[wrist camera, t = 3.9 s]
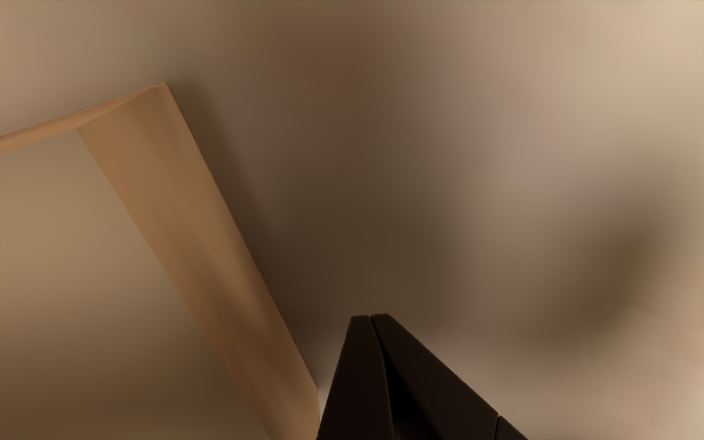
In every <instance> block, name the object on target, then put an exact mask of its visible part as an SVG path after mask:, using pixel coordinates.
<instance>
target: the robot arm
mask: <svg viewBox="0 0 704 440" xmlns="http://www.w3.org/2000/svg"><path fill="white" fill-rule="evenodd" d="M316 440H528V439H527V438H526V437H525V436H524V435H522V434H521V433H520V432H519V431H518V430H517V429H516V428H514V427H513V426H512V425H511V424H510V423H509V422H508V421H507V420H506V419H505V418H503V417H502V416H499V417H498V412H497V411H495V410H494V409H493V408H492V407H491V406H490V405H489V404H488V403H487V402H486V401H484V400H483V399H482V398H481V397H480V396H479V395H478V394H477V393H476V392H474V391H473V390H472V389H471V388H470V387H469V386H468V385H467V384H466V383H465V382H463V381H462V380H461V379H460V378H459V377H458V376H457V375H456V374H455V373H454V372H452V371H451V370H450V369H449V368H448V367H447V366H446V365H445V364H444V363H442V362H441V361H440V360H439V359H438V358H437V357H436V356H435V355H434V354H433V353H431V352H430V351H429V350H428V349H427V348H426V347H425V346H424V345H423V344H421V343H420V342H419V341H418V340H417V339H416V338H415V337H414V336H413V335H412V334H410V333H409V332H408V331H407V330H406V329H405V328H404V327H403V326H402V325H401V324H399V323H398V322H397V321H396V320H395V319H394V318H393V317H392V316H391V315H389V314H386V313H384V314H373V315H371V316H368V315H357V316H352V317H351V319H350V322H349V326H348V329H347V333H346V336H345V340H344V343H343V347H342V350H341V353H340V357H339V360H338V364H337V367H336V371H335V374H334V378H333V381H332V385H331V388H330V392H329V395H328V399H327V402H326V406H325V409H324V413H323V416H322V420H321V423H320V427H319V430H318V434H317V437H316Z"/></svg>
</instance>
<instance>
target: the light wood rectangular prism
mask: <svg viewBox="0 0 704 440" xmlns="http://www.w3.org/2000/svg"><path fill="white" fill-rule="evenodd" d="M319 427H320V415H319V402H318V390H317V387H316V385H315V383H314V381H313V379H312V377H311V375H310V373H309V371H308V369H307V367H306V365H305V363H304V361H303V359H302V357H301V355H300V353H299V351H298V349H297V347H296V345H295V343H294V341H293V339H292V337H291V335H290V332H289V330H288V328H287V326H286V324H285V322H284V320H283V318H282V316H281V314H280V312H279V310H278V308H277V306H276V304H275V302H274V300H273V298H272V296H271V294H270V292H269V290H268V288H267V286H266V284H265V282H264V280H263V278H262V276H261V274H260V272H259V270H258V268H257V266H256V264H255V262H254V260H253V258H252V256H251V254H250V252H249V249H248V247H247V245H246V243H245V241H244V239H243V237H242V235H241V233H240V231H239V229H238V227H237V225H236V223H235V221H234V219H233V217H232V215H231V213H230V211H229V209H228V207H227V205H226V203H225V201H224V199H223V197H222V195H221V193H220V191H219V189H218V187H217V185H216V183H215V181H214V179H213V177H212V175H211V173H210V171H209V169H208V167H207V164H206V162H205V160H204V158H203V156H202V154H201V152H200V150H199V148H198V146H197V144H196V142H195V140H194V138H193V136H192V134H191V132H190V130H189V128H188V126H187V124H186V122H185V120H184V118H183V116H182V114H181V112H180V110H179V108H178V106H177V104H176V102H175V100H174V98H173V96H172V94H171V92H170V90H169V88H168V86H167V84H166V82H164V83H161V84H158V85H155V86H152V87H149V88H146V89H143V90H140V91H137V92H134V93H131V94H128V95H125V96H122V97H119V98H116V99H113V100H110V101H107V102H104V103H101V104H98V105H95V106H92V107H89V108H86V109H84V110H81V111H78V112H75V113H72V114H69V115H66V116H63V117H60V118H57V119H54V120H51V121H48V122H45V123H42V124H39V125H36V126H33V127H30V128H27V129H24V130H21V131H18V132H15V133H12V134H9V135H6V136H3V137H0V440H316V437H317V434H318V430H319Z"/></svg>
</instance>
